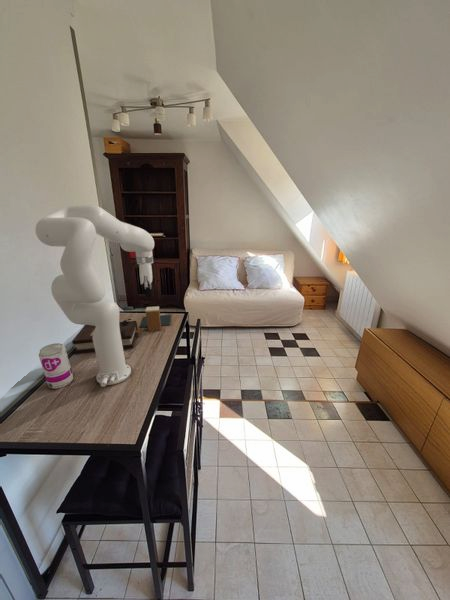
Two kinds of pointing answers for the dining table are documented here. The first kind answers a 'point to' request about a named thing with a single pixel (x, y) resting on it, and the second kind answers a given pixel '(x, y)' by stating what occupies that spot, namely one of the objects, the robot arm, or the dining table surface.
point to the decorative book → (86, 333)
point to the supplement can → (56, 365)
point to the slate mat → (164, 321)
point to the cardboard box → (153, 318)
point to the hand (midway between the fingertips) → (149, 296)
